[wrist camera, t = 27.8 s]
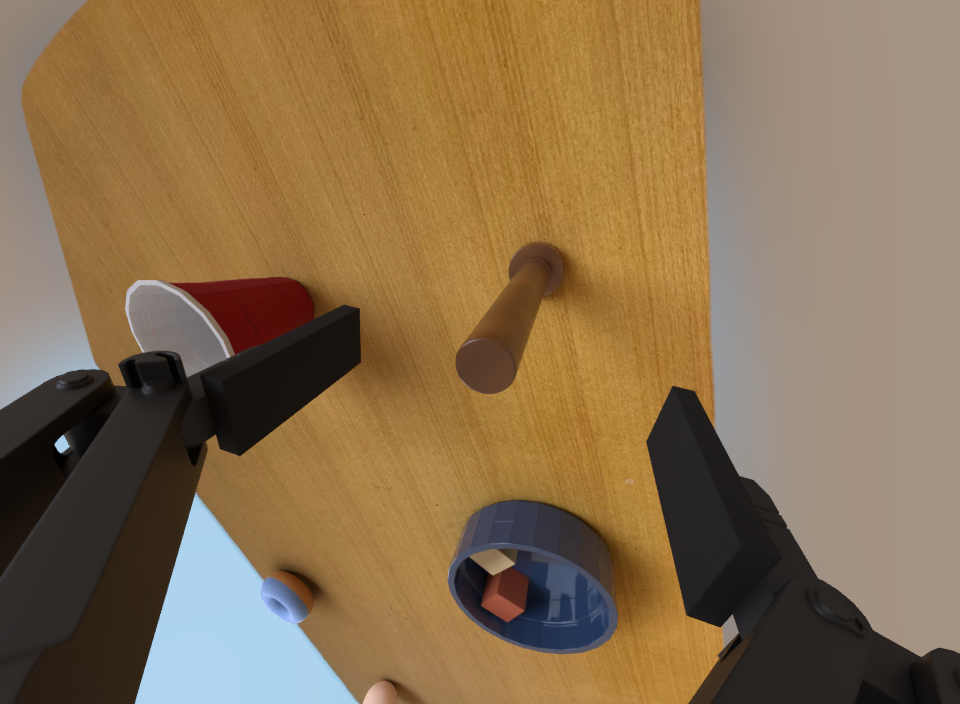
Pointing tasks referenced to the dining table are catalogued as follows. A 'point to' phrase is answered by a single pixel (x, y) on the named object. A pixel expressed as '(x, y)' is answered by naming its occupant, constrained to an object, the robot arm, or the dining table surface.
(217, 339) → the plastic cup
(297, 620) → the doughnut
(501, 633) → the bowl
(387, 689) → the egg
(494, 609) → the terracotta block
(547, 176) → the dining table surface
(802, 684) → the robot arm
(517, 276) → the muddler
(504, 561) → the birch block
